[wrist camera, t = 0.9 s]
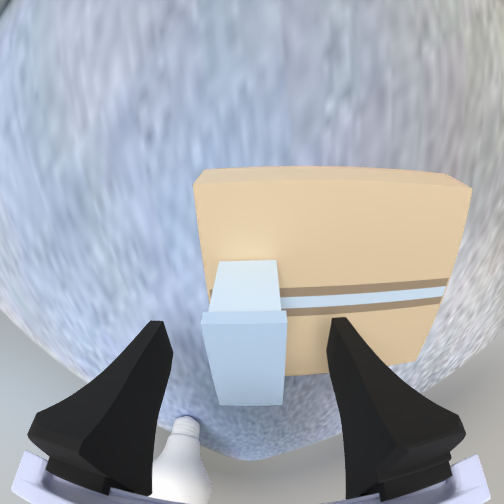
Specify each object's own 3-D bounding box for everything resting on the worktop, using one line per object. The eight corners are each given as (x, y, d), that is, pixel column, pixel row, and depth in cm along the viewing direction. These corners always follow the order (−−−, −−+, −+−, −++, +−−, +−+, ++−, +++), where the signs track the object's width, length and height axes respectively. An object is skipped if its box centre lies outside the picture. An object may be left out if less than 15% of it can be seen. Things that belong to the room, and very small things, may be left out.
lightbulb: (183, 395, 23) (162, 509, 13) (231, 421, 25) (225, 522, 15) (146, 410, 25) (123, 504, 15) (192, 434, 27) (180, 521, 17)
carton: (445, 173, 13) (472, 188, 11) (403, 335, 19) (415, 360, 17) (204, 169, 14) (192, 184, 11) (226, 347, 19) (223, 377, 17)
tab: (279, 257, 13) (287, 322, 9) (278, 341, 15) (282, 405, 12) (215, 259, 13) (200, 323, 9) (226, 341, 15) (219, 405, 12)
